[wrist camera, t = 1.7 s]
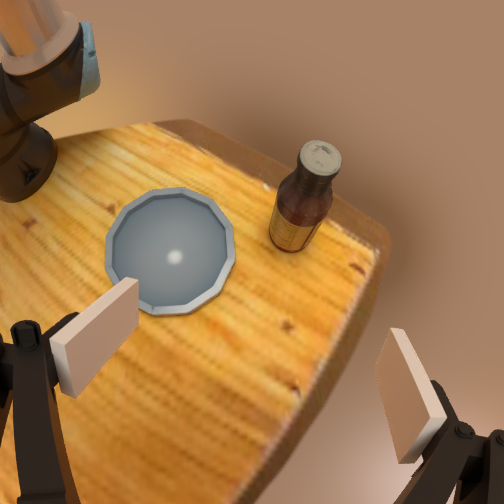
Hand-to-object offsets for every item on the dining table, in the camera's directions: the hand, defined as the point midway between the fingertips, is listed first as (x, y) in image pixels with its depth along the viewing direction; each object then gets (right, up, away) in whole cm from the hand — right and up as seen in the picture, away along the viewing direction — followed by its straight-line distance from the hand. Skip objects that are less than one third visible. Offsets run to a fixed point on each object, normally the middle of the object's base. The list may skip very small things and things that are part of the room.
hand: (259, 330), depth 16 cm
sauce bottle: (+5, +6, +31) cm, 32 cm away
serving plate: (-12, +4, +29) cm, 32 cm away
